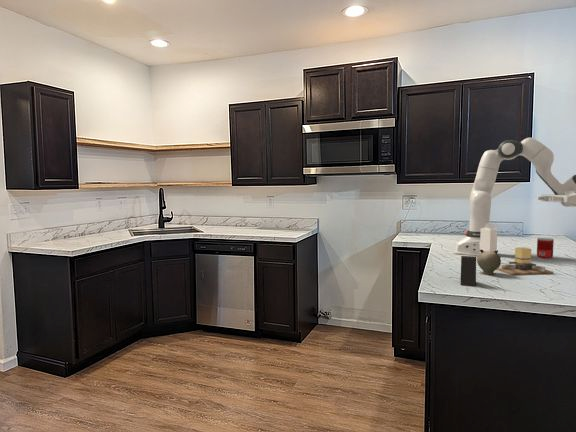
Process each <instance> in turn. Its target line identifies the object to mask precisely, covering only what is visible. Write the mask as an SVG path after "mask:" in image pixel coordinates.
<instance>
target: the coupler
mask: <svg viewBox="0 0 576 432" xmlns="http://www.w3.org/2000/svg"><path fill="white" fill-rule="evenodd" d="M514 262H515V263H517V264H521V265H522V264H531V263H532V248H529V247H515V248H514Z"/></svg>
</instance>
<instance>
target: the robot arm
mask: <svg viewBox="0 0 576 432" xmlns="http://www.w3.org/2000/svg"><path fill="white" fill-rule="evenodd" d="M518 156H522V157H524V158H525V159H526V160H527V161H529V162H530V163H531V164H532V165H533V166H534V168H535V173H536V175H538V176H539V178H540V179H541V180H542V181H543V183H544V184H545V185H546V186H547V187H548V188H549V189H550V190H551V191H552V192H553V194H541V195H540V196H538V197H537V200H538V201H540V202H547V203H560V204H561V205H562V206H563V207H565V208H569V207H570V208H574V207H576V174H574V175H572V176H571V177H569V179H567V180H566V181H565V182H563V184H562V183H561V182H560V181H559V180H558V179H557V178H556V177H555V176H554V175H553V174H552V170H551V169H552V166H553V163H554V160H555V155H554V152H553V151H552V150H551V148H549V147H547V146H546V145H545V144H544V143H542V142H540V141H539V140H537V139H536V138H534V137H526V138H524V139H523V140H521V141H518V140H513V139H508V140H507V139H506V140H504V141H502V142H501V143H500V144H499V145H498V148H497V149H489V150H486V151H484V153H483V154H482V156H481V158H480V161H479V164H478V167H477V171H476V174H475V175H476V176H475V179H474V182H473V186H472V188H471V191H470V196H469V204H470V211H469V230H465V231H464V233H465V236H464V237H463V238H461V239H460V240H458V241H457V243H456V244H455V248H453V249H452V250H451V253H452V254H455V255H462V256H474V257H478V255H479V254H480V233H481V228H483V227H485V226H486V223H490V217H491V207H492V197H491V194H492V192H493V188H494V186H495V183H496V179H497V176H498V172H499V168H500V164H501V163H502V162H505V161H511V160H514V159H516V158H517V157H518Z"/></svg>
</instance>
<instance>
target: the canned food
mask: <svg viewBox="0 0 576 432" xmlns="http://www.w3.org/2000/svg"><path fill="white" fill-rule="evenodd" d="M554 242H555V241H554V238H552V237H551V238H550V237H538V238H537V240H536V257H537V258H540V259H553V257H554V244H555V243H554Z"/></svg>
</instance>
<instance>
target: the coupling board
mask: <svg viewBox="0 0 576 432" xmlns="http://www.w3.org/2000/svg"><path fill="white" fill-rule="evenodd" d="M498 270H499V271H498ZM495 271H498V272H502V273H505V274H507V275H511V276H525V275H526V276H528V275H527V274H534V275H553V274H554V271H552V270H548V269H546V267H545V266H541V265H540V266H539V265H537V263H534V262H533V263H532V262H531V264H522V265H521V264H517V263H515V261H509V262H508V263H504V264H503V263H502V264H500V267H499V268H497V269H496V270H495Z"/></svg>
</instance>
